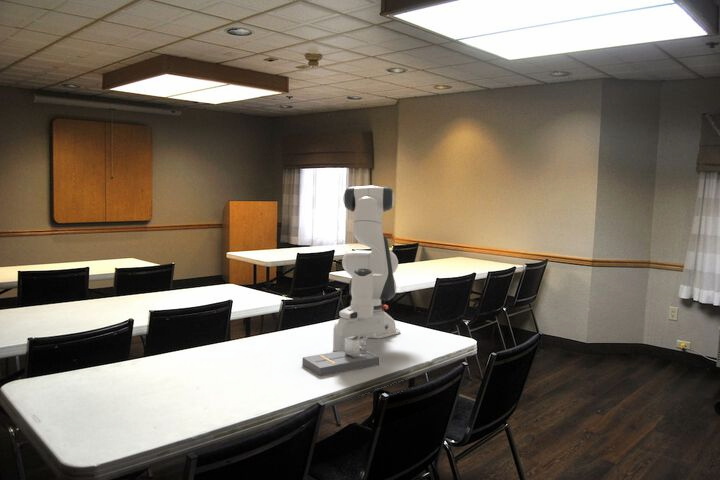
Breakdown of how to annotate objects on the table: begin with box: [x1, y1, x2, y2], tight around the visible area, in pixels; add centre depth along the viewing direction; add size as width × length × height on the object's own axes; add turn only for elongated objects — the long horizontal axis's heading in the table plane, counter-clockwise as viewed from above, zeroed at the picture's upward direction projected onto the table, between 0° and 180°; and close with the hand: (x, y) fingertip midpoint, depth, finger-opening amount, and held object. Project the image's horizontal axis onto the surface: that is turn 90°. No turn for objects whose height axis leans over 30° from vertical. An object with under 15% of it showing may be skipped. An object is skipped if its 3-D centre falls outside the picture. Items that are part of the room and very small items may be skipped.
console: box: [301, 347, 381, 377], centre depth 207 cm, size 26×14×3 cm, turn 123°
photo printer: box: [332, 322, 355, 352], centre depth 225 cm, size 10×4×12 cm, turn 98°
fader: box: [345, 337, 361, 357], centre depth 209 cm, size 3×6×7 cm, turn 33°
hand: (361, 345), depth 211 cm, fingers closed
